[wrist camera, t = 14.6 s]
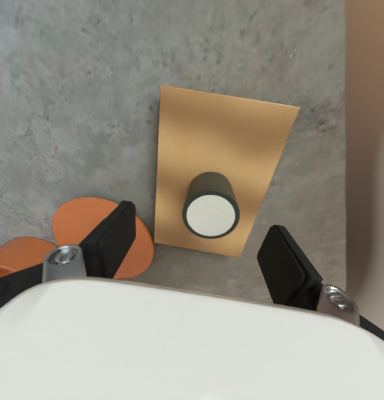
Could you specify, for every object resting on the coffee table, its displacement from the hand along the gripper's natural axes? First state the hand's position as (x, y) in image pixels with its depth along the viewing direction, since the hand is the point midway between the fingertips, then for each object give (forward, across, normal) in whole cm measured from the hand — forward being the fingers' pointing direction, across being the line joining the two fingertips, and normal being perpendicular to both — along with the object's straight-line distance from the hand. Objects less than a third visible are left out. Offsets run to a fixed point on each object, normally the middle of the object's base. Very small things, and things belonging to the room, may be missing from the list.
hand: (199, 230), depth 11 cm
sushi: (+7, -1, 0) cm, 7 cm away
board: (+9, -1, 0) cm, 9 cm away
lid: (+9, +13, +12) cm, 20 cm away
